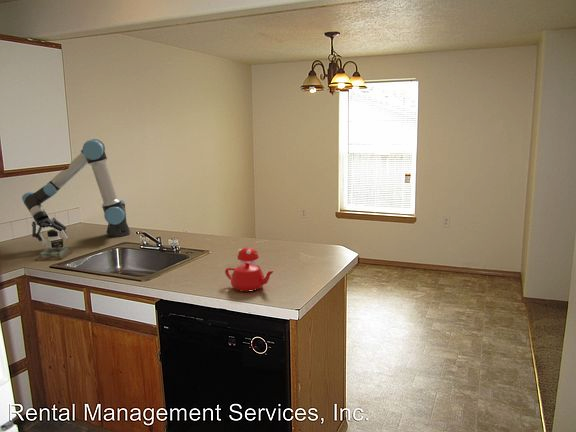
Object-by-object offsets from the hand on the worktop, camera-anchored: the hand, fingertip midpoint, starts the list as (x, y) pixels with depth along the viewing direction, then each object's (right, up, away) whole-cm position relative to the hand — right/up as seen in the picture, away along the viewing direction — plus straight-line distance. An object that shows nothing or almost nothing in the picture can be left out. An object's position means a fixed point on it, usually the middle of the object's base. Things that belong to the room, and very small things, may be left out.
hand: (56, 241), depth 281 cm
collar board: (+5, -8, -11) cm, 14 cm away
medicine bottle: (-2, -5, +2) cm, 6 cm away
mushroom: (+118, -12, -41) cm, 125 cm away
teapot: (+120, -18, -66) cm, 138 cm away
